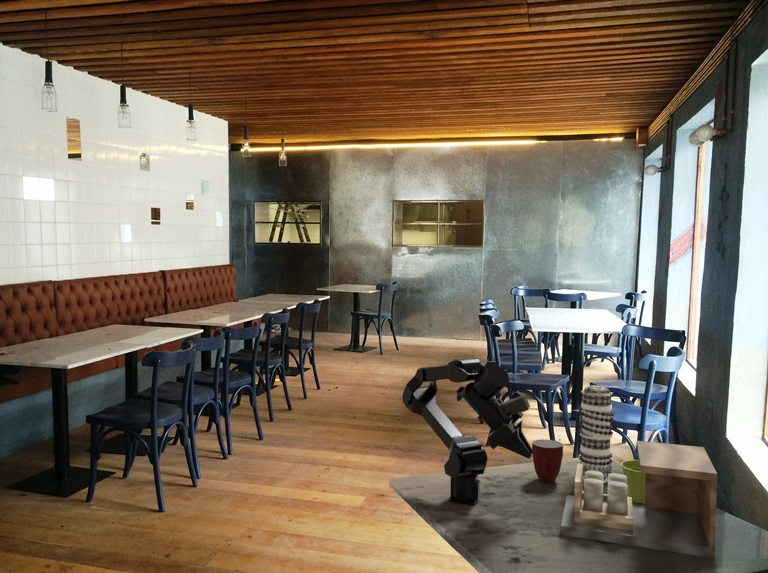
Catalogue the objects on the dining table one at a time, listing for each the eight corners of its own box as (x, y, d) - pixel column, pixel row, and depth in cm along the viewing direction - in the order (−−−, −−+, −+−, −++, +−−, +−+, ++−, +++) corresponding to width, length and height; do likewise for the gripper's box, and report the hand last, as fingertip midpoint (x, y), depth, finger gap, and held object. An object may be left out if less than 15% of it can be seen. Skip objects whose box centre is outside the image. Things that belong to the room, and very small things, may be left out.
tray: (573, 521, 135) (574, 481, 135) (577, 500, 147) (577, 463, 147) (633, 530, 131) (634, 488, 131) (631, 507, 143) (632, 469, 143)
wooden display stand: (560, 534, 133) (562, 456, 132) (566, 503, 151) (568, 434, 150) (714, 558, 123) (717, 473, 122) (701, 521, 141) (703, 447, 140)
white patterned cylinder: (572, 479, 168) (574, 387, 167) (583, 470, 175) (584, 382, 175) (607, 486, 163) (609, 391, 162) (616, 476, 170) (618, 386, 169)
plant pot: (641, 510, 147) (642, 474, 147) (611, 496, 155) (612, 462, 155) (670, 504, 151) (670, 469, 150) (639, 491, 159) (640, 457, 159)
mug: (562, 490, 159) (563, 451, 159) (530, 486, 162) (530, 449, 161) (562, 476, 170) (563, 440, 169) (532, 473, 172) (532, 438, 171)
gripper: (502, 390, 137) (553, 444, 133) (515, 375, 154) (560, 424, 151) (467, 422, 140) (515, 476, 136) (483, 404, 157) (526, 452, 154)
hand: (531, 455), depth 144 cm, fingers open, 3 cm apart
